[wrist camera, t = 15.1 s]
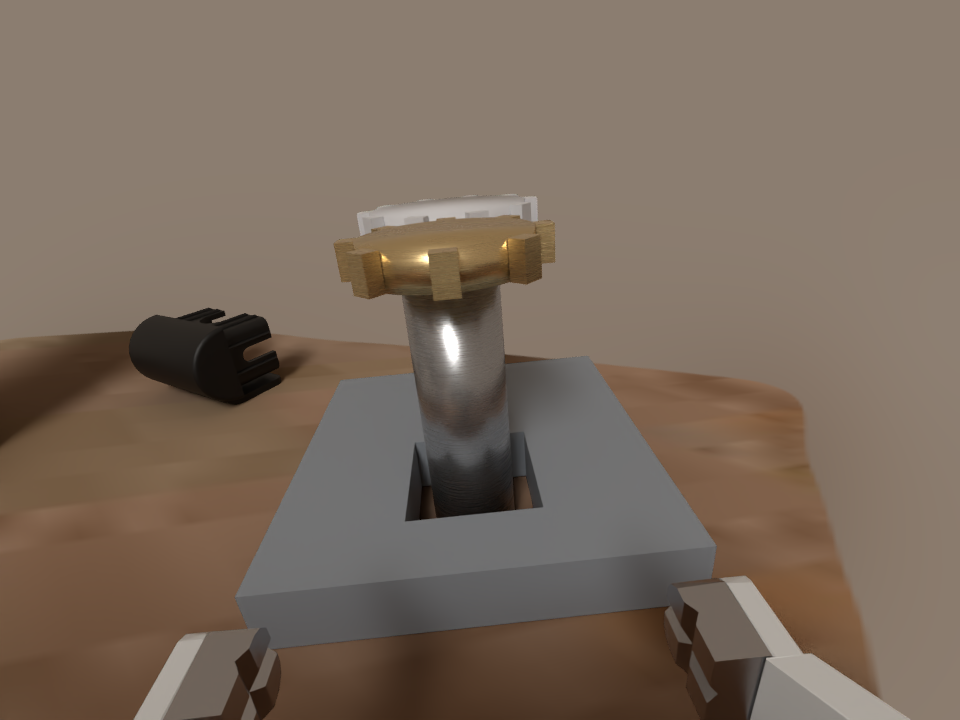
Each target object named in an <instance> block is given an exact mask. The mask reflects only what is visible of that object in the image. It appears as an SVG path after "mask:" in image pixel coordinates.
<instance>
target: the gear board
mask: <svg viewBox="0 0 960 720" xmlns="http://www.w3.org/2000/svg"><path fill="white" fill-rule="evenodd" d="M502 215H520V219H524V220H528V221H532V222H533V221H538V217H537V197H535V196H530V197H519V196H518V195H517V194H506V195H497V196H496V195H495V196H478V195H471V196H463V197H456V198H445V199H435V200H434V199H427V200H418V201H417V202H411V203H405V204H399V205H386V206H381V207H377V209H376V210H373V211H368V212H359V213H358V214H357V219H358V224H359V229H360V235H361V236H362V235H365V234H368V233H371V229H374V228H379V227H383V226H402V225H408V224H414V223H421V222H429V221H436V219H438V218H449V217H456V219H461V218H483V217H497V216H502ZM505 370H506V385H507V400H508V415H509V430H510V445H511V460H512V475H513V477H517V476H526V478H527V482H528V486H529V491H530V495H531V499H532V503H533V508H531V509H522V510H512V511H502V512H493V513H483V514H474V515H464V516H454V517H445V518H435V519H426V520H419V516H420V504H421V493H422V486H430V485H431V479H430V473H429V467H428V460H427V454H426V447H425V441H424V434H423V428H422V422H421V415H420V409H419V402H418V396H417V390H416V383H415V377H414V373H409V374H399V375H389V376H378V377H368V378H358V379H348V380H341V381H340V383H339V385H338V387H337V389H336V391H335V393H334V395H333V397H332V399H331V401H330V403H329V405H328V407H327V409H326V412H325V414H324V416H323V418H322V420H321V422H320V424H319V426H318V428H317V430H316V432H315V434H314V436H313V438H312V440H311V442H310V444H309V446H308V448H307V450H306V453H305V455H304V457H303V459H302V461H301V463H300V465H299V467H298V469H297V471H296V473H295V475H294V477H293V479H292V481H291V483H290V485H289V487H288V489H287V491H286V493H285V496H284V498H283V500H282V502H281V504H280V506H279V508H278V510H277V512H276V514H275V516H274V518H273V520H272V522H271V524H270V526H269V528H268V530H267V532H266V534H265V537H264V539H263V541H262V543H261V545H260V547H259V549H258V551H257V553H256V555H255V557H254V559H253V561H252V563H251V565H250V567H249V569H248V571H247V573H246V575H245V577H244V580H243V582H242V584H241V586H240V588H239V590H238V592H237V594H236V596H235V599H236V602H237V604H238V606H239V609H240V611H241V613H242V616H243V618H244V620H245V623H246V625H247V628H248V629H252V628H264V627H266V628H267V630H268V633H269V635H270V637H271V640H270V643H269V645H268V648H270V649H278V648H287V647H297V646H306V645H315V644H324V643H333V642H343V641H352V640H361V639H370V638H379V637H389V636H398V635H407V634H416V633H425V632H435V631H444V630H453V629H462V628H471V627H481V626H490V625H499V624H508V623H517V622H527V621H536V620H545V619H554V618H563V617H573V616H582V615H591V614H600V613H609V612H619V611H628V610H637V609H646V608H655V607H665V606H671V605H670V603H669V601H668V599H667V597H666V596H667V589H668V586H669V585H670V584H671V583H679V582H687V581H696V580H704V579H711V577H712V571H713V565H714V559H715V553H716V547H717V546H716V544H715V543H714V541H713V540H712V538H711V537H710V535H709V534H708V532H707V531H706V530H705V528H704V527H703V525H702V524H701V522H700V521H699V519H698V518H697V516H696V515H695V513H694V512H693V510H692V509H691V507H690V506H689V504H688V503H687V501H686V500H685V498H684V497H683V496H682V494H681V493H680V491H679V490H678V488H677V487H676V485H675V484H674V482H673V481H672V479H671V478H670V476H669V475H668V473H667V472H666V470H665V469H664V467H663V466H662V464H661V463H660V462H659V460H658V459H657V457H656V456H655V454H654V453H653V451H652V450H651V448H650V447H649V445H648V444H647V442H646V441H645V439H644V438H643V436H642V435H641V433H640V432H639V430H638V429H637V428H636V426H635V425H634V423H633V422H632V420H631V419H630V417H629V416H628V414H627V413H626V411H625V410H624V408H623V407H622V405H621V404H620V402H619V401H618V399H617V398H616V396H615V395H614V394H613V392H612V391H611V389H610V388H609V386H608V385H607V383H606V382H605V380H604V379H603V377H602V376H601V374H600V373H599V371H598V370H597V368H596V367H595V365H594V364H593V362H592V361H591V360H590V358H589V357H588V356H581V357H572V358H561V359H551V360H541V361H531V362H520V363H510V364H505Z"/></svg>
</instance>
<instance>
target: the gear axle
mask: <svg viewBox="0 0 960 720" xmlns="http://www.w3.org/2000/svg"><path fill="white" fill-rule="evenodd" d="M334 248H335V253H336V258H337V262H338V268H339V272H340V277H341V282H351V283H352V288H353V293H354V296H357V297H361V298H366V299H372V298H375V297H378V296H381V295H384V294H395V295H402V300H403V306H404V312H405V319H406V325H407V332H408V338H409V345H410V351H411V357H412V364H413V370H414V377H415V383H416V390H417V396H418V402H419V409H420V415H421V422H422V428H423V434H424V441H425V447H426V454H427V460H428V467H429V473H430V479H431V486H432V492H433V499H434V505H435V511H436V518H445V517H454V516H464V515H474V514H483V513H493V512H502V511H512V510H515V506H514V491H513V475H512V460H511V445H510V430H509V415H508V400H507V385H506V370H505V354H504V339H503V324H502V311H501V310H502V309H501V294H500V285H501V284H505V283H508V282H512V283H520V284H529V283H531V282H534V281H536V280H539V279H541V278H542V263H553V262H555V223H554V222H552V221H551V220H544V221H533V222H532V221H528V220H524V219H520V215H502V216H497V217H483V218H461V219H456V217H449V218H438V219H436V221H429V222H421V223H414V224H408V225H402V226H383V227H379V228H374V229H371V233H368V234H365V235H362V236H360V237H358V238H350V239H339V240H337V241H336V242H335V243H334Z"/></svg>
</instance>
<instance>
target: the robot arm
mask: <svg viewBox="0 0 960 720" xmlns="http://www.w3.org/2000/svg"><path fill="white" fill-rule="evenodd" d="M666 597H667V599H668V601H669V603H670V605H671V606H670V607H669V608H668V609H667V610H666V611H665V614H664V628H665V634H666V639H667V642H668V646H669V649H670V651H671V654H672V656H673V658H674V661H675V663H676V664H677V665H678V666H679V667H681V668H682V669H683V670H684V671H685V672H687V673H688V677H687V684H686V688H687V690H688V693H689V695H690V697H691V699H692V702H693V704H694V706H695V708H696V711H697V713H698V715H699V717H700V720H911V719H909V718H907V717H906V716H905V715H903V714H902V713H900V712H899V711H897V710H896V709H894V708H893V707H891V706H890V705H888V704H887V703H885V702H884V701H882V700H881V699H879V698H878V697H876V696H875V695H873V694H872V693H870V692H869V691H867V690H866V689H864V688H863V687H861V686H860V685H858V684H857V683H855V682H854V681H852V680H851V679H849V678H848V677H846V676H845V675H843V674H842V673H840V672H839V671H837V670H836V669H834V668H833V667H831V666H830V665H828V664H827V663H825V662H824V661H822V660H821V659H819V658H818V657H816V656H815V655H813V654H812V653H807V654H803V653H802V651H801V650H800V648H799V647H798V646H797V644H796V643H795V641H794V640H793V639H792V637H791V636H790V634H789V633H788V632H787V630H786V629H785V627H784V626H783V625H782V623H781V622H780V620H779V619H778V618H777V616H776V615H775V613H774V612H773V611H772V609H771V608H770V606H769V605H768V604H767V602H766V601H765V599H764V598H763V597H762V595H761V594H760V592H759V591H758V590H757V588H756V587H755V585H754V584H753V582H752V581H751V580H750V579H749V578H747V577H746V576H736V577H727V578H719V579H718V578H712V579H704V580H696V581H687V582H679V583H671V584H670V585H669V586H668V589H667V596H666ZM270 640H271V637H270V635H269V633H268V630H267V628H266V627H264V628H252V629H239V630H227V631H213V632H203V633H192V634H186V635H185V636H184V637H183V638H182V639H181V640H179V641H178V643H177V644H176V646H175V648H174V649H173V651H172V653H171V655H170V656H169V658H168V660H167V662H166V663H165V665H164V667H163V669H162V670H161V672H160V674H159V676H158V677H157V679H156V681H155V683H154V684H153V686H152V688H151V690H150V691H149V693H148V695H147V697H146V699H145V700H144V702H143V704H142V706H141V707H140V709H139V711H138V713H137V714H136V716H135V718H134V720H263V719H264V718H265V717H266V715H267V714H268V713H269V712H270V711H271V710H272V709H273V708H274V706H275V702H276V699H277V696H278V693H279V688H280V680H281V665H280V660H279V657H278V654H277V653H276V652H274V651H273V650H271V649H270V648H268V645H269V643H270Z"/></svg>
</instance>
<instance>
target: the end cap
mask: <svg viewBox="0 0 960 720" xmlns="http://www.w3.org/2000/svg"><path fill="white" fill-rule="evenodd" d="M223 316H225V312H224V311H221V310H218V309H216V310H215V309H211V308H206V309H203V310H200V311H197V312H194V313H191V314H187V315H184V316H182V317H178V318H171V317H165V316H160V315H155V316H152V317H150V318H148V319H146V320H145V321H143V322H142V323H141V324H140V325H139V326H138V327H137V328H136V330H135V331H134V333H133V335H132V337H131V339H130V345H129V354H130V357H131V361H132V363H133V364H134V366H135V367H136V369H137V370H138V371H139V372H140V373H142V374H143V375H144V376H146V377H148V378H150V379H153V380H156V381H159V382H162V383H165V384H168V385H171V386H174V387H177V388H181V389H184V390H187V391H190V392H193V393H196V394H199V395H202V396H205V397H208V398H212V399H215V400H218V401H221V402H224V403H231V404H239V403H243V402H246V401H247V400H249V399H251V398H253V397H255V396H257V395H259V394H261V393H263V392H265V391H267V390H269V389H271V388H273V387H275V386H277V385H279V384H280V383H281V378H280V376H279V375H276V374H272V373H269V372H271V371H273V370H275V369H277V368H279V361H278V358H277V354H276V351H273V350H272V351H270V352H268V353H266V354H263V355H261V356H259V357H257V358H254V359H252V360H250V361H246V360H244V358H243V352H244V350H245V349H246V348H247V347H249V346H252V345H254V344H256V343H259V342H261V341H264V340H266V339H268V338H271V333H270V330H269V326H268V323H267V321H266V320H265V319H264V318H263V317H259V316H256V315H248V314H246V313H244V314H241V315H238V316H236V317H233V318H230V319H227V320H224V321H221V322H216V323H212V321H211V320H214V319H217V318H220V317H223Z"/></svg>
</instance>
